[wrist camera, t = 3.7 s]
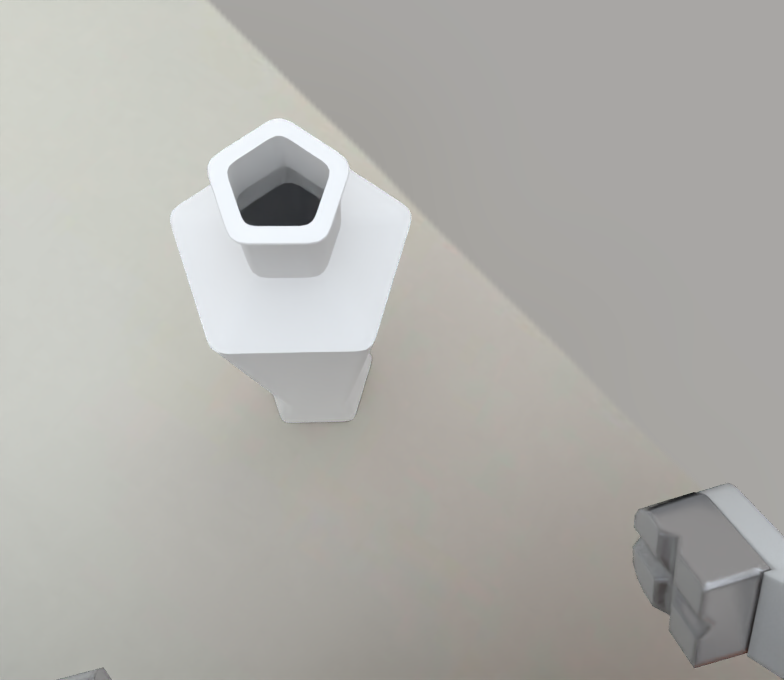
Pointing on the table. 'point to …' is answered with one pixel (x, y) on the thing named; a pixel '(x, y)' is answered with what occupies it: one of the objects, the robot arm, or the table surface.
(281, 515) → the table surface
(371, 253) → the perfume bottle
